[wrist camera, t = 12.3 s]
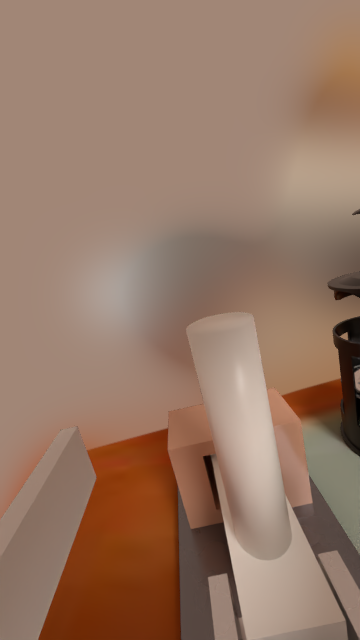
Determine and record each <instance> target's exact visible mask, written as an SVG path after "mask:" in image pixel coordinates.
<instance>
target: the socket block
mask: <svg viewBox="0 0 360 640" xmlns="http://www.w3.org/2000/svg"><path fill="white" fill-rule="evenodd" d="M267 394H268V400H269V406H270V411H271V417H272V423H273V428H274V434H275V440H276V445H277V451H278V457H279V462H280V468H281V474H282V479H283V485H284V491H285V495H286V497H287V499H288V501H289V503H290V505H291V507H297V506H301V505H306V504H311V503H313V502H312V495H311V488H310V482H309V475H308V468H307V461H306V454H305V448H304V441H303V434H302V427H301V421H300V419H299V418H298V417H297V415H296V414H295V413H294V412H293V410H292V409H291V408H290V406H289V405H288V404H287V403H286V401H285V400H284V399H283V398H282V396H281V395H280V394H279V393H278V391H277V390H276V389H275V388H270V389H267ZM168 453H169V456H170V460H171V463H172V467H173V470H174V473H175V477H176V480H177V484H178V487H179V491H180V494H181V497H182V501H183V504H184V508H185V511H186V514H187V518H188V521H189V525H190V528H191V529H194V528H199V527H204V526H208V525H213V524H217V523H222V522H224V520H223V515H222V510H221V505H220V500H219V494H218V489H217V484H216V479H215V474H214V469H213V464H212V460H211V456H210V455H212V454H216V452H215V448H214V444H213V439H212V435H211V431H210V427H209V423H208V419H207V415H206V411H205V406H204V404H200V405H196V406H191V407H187V408H183V409H178V410H174V411H170V412H169V421H168Z"/></svg>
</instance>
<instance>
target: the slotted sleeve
mask: <svg viewBox="0 0 360 640" xmlns="http://www.w3.org/2000/svg"><path fill="white" fill-rule="evenodd" d="M308 475H309V474H308ZM309 482H310V488H311V495H312V502H313V503H311V504H306V505H301V506H297V507H292V509H293V511H294V513H295V515H296V518H297V520H298V522H299V524H300V526H301V528H302V530H303V532H304V534H305V536H306V538H307V541H308V543H309V545H310V547H311V549H312V551H313V553H314V555H315V557H316V559H317V562H318V564H319V566H320V568H321V570H322V572H323V574H324V576H325V578H326V580H327V582H328V585H329V587H330V589H331V591H332V593H333V595H334V597H335V599H336V601H337V603H338V605H339V608H340V610H341V612H342V614H343V616H344V618H345V620H346V626H347V634H348V640H360V555H359V553H358V552H357V550H356V549H355V547H354V546H353V544H352V542H351V541H350V539H349V538H348V536H347V534H346V533H345V531H344V530H343V528H342V527H341V525H340V523H339V522H338V520H337V519H336V517H335V515H334V514H333V512H332V511H331V509H330V507H329V506H328V504H327V503H326V501H325V500H324V498H323V496H322V495H321V493H320V492H319V490H318V488H317V487H316V485H315V484H314V482H313V480H312V479H311V477H310V476H309ZM178 518H179V564H180V611H181V640H247V639H246V634H245V629H244V624H243V618H242V613H241V608H240V603H239V598H238V593H237V587H236V582H235V577H234V572H233V567H232V562H231V556H230V551H229V546H228V541H227V536H226V531H225V525H224V522H222V523H217V524H213V525H208V526H204V527H199V528H194V529H191V528H190V525H189V521H188V518H187V514H186V511H185V508H184V504H183V501H182V497H181V494H180V491H179V487H178Z"/></svg>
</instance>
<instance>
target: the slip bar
mask: <svg viewBox="0 0 360 640" xmlns="http://www.w3.org/2000/svg"><path fill="white" fill-rule="evenodd" d="M186 332H187V336H188V340H189V344H190V349H191V353H192V357H193V361H194V365H195V369H196V373H197V377H198V382H199V386H200V390H201V394H202V398H203V402H204V406H205V411H206V415H207V419H208V423H209V427H210V431H211V435H212V439H213V444H214V448H215V452H216V454H212V455H210V456H211V460H212V464H213V469H214V474H215V479H216V484H217V489H218V494H219V500H220V505H221V510H222V515H223V520H224V525H225V531H226V536H227V541H228V546H229V551H230V556H231V562H232V567H233V572H234V577H235V582H236V587H237V593H238V598H239V603H240V608H241V613H242V618H243V624H244V629H245V634H246V639H247V640H348V634H347V626H346V620H345V618H344V616H343V614H342V612H341V610H340V608H339V605H338V603H337V601H336V599H335V597H334V595H333V593H332V591H331V589H330V587H329V585H328V582H327V580H326V578H325V576H324V574H323V572H322V570H321V568H320V566H319V564H318V562H317V559H316V557H315V555H314V553H313V551H312V549H311V547H310V545H309V543H308V541H307V538H306V536H305V534H304V532H303V530H302V528H301V526H300V524H299V522H298V520H297V518H296V515H295V513H294V511H293V509H292V507H291V505H290V503H289V501H288V499H287V497H286V495H285V491H284V485H283V479H282V474H281V468H280V462H279V457H278V451H277V445H276V440H275V434H274V428H273V423H272V417H271V411H270V406H269V400H268V394H267V389H266V383H265V378H264V372H263V367H262V360H261V355H260V349H259V343H258V338H257V333H256V326H255V321H254V316H253V315H252V314H250V313H246V312H230V313H223V314H218V315H213V316H209V317H206V318H203V319H200V320H198V321H195V322H194V323H192V324H190V325H189V326H188V327H187V328H186Z"/></svg>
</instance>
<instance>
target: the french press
mask: <svg viewBox="0 0 360 640" xmlns="http://www.w3.org/2000/svg"><path fill="white" fill-rule="evenodd" d="M355 214H360V209H359V210H357V211H355V212H354V213H353V214H352V215H355ZM328 287H329V288H330V289H332V290H334V297H335V300H340V299H342V298H344V297H347V296H350V295H355V296H357V297H359V298H360V271H359V272H355V273H350V274H346V275H343V276H340V277H337V278H335V279H332V280H331V281H329V282H328ZM346 332H348V340H345V339H343V338H341V337H339V336H341V335H342V334H344V333H346ZM333 338H334V344H335V347H336V348H337V349H338V352H339V362H340V372H341V383H342V392H343V399H342V400H341V415H342V422H341V433H342V437H343V439H344V440H345V442H346V444H347V445H348V446H349V447H350V448H351V449H352V450H353V451H354V452H355V453H357V454H358V455H359V456H360V425H359V420H360V316H359V317H355V318H351V319H347V320H345V321H342V322H340V323H338V324H337V325H336V326H335V327H334V328H333Z"/></svg>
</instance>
